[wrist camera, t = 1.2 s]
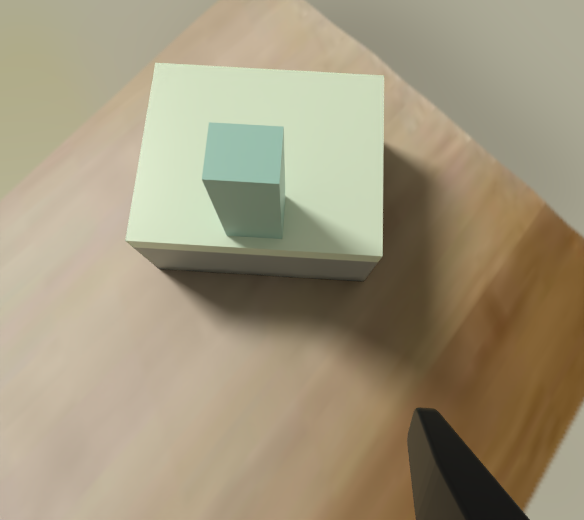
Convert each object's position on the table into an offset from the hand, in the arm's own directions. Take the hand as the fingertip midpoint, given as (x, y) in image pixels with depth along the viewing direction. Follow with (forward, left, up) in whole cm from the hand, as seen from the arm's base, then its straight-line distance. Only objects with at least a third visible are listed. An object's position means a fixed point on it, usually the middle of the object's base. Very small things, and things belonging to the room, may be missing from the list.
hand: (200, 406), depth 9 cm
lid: (+10, 0, -9) cm, 14 cm away
